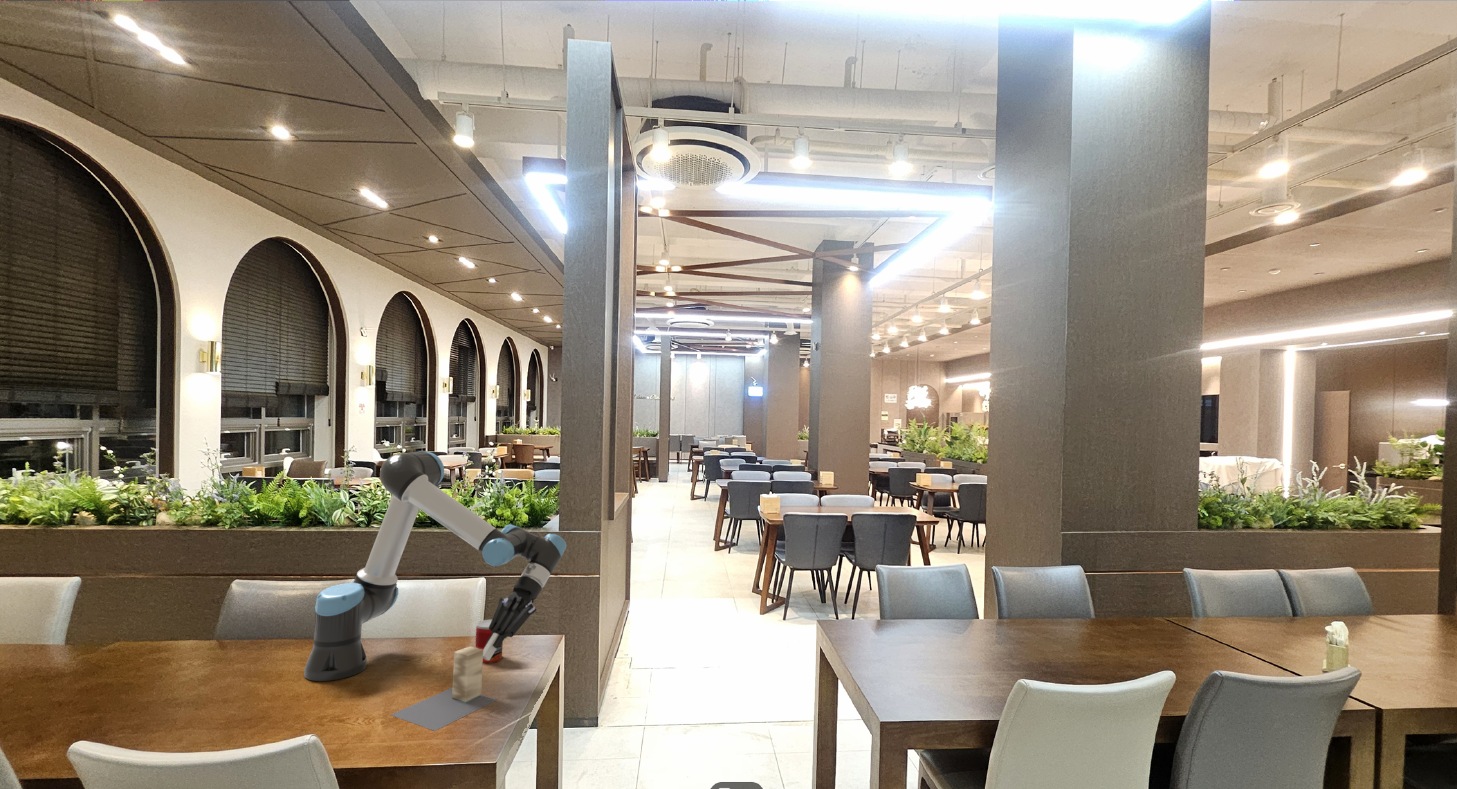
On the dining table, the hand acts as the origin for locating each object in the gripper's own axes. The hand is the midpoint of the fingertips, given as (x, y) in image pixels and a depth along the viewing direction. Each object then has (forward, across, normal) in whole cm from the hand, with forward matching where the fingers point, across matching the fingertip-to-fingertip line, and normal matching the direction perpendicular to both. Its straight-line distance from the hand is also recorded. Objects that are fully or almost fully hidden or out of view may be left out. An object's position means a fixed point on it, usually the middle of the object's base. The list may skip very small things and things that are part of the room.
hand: (484, 657), depth 168 cm
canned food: (-5, -16, +18) cm, 25 cm away
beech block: (+10, 0, +2) cm, 10 cm away
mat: (+15, 0, -2) cm, 15 cm away
